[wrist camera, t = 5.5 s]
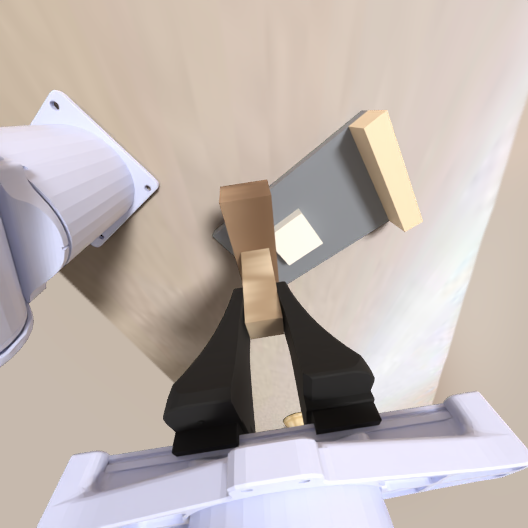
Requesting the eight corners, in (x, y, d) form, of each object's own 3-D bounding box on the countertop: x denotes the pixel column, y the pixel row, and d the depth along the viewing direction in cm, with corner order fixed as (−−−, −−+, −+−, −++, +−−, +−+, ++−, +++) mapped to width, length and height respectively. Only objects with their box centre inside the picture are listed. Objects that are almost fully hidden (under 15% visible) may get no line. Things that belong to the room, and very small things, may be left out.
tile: (287, 258, 23) (289, 265, 22) (264, 233, 21) (265, 239, 20) (319, 237, 21) (323, 243, 20) (298, 208, 19) (301, 213, 18)
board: (272, 287, 26) (276, 308, 23) (213, 231, 21) (209, 250, 18) (398, 207, 21) (423, 221, 19) (361, 110, 16) (387, 110, 14)
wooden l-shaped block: (246, 283, 21) (252, 363, 15) (220, 186, 13) (214, 276, 8) (276, 278, 21) (292, 356, 15) (266, 179, 13) (290, 264, 8)
